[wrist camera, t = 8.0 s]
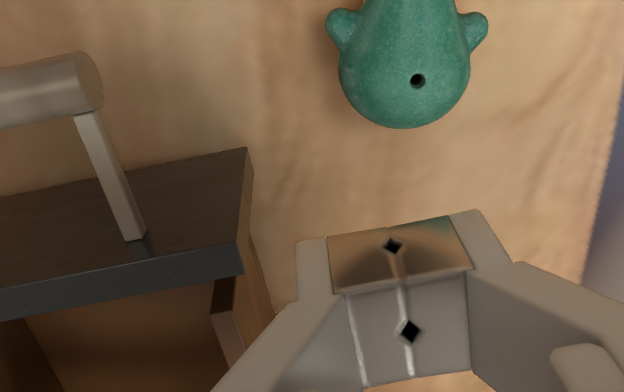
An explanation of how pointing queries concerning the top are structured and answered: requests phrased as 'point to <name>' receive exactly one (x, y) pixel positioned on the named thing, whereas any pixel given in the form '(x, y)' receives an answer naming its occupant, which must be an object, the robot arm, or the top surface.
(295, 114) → the top surface
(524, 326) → the robot arm
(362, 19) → the whale figurine
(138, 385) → the drawer
